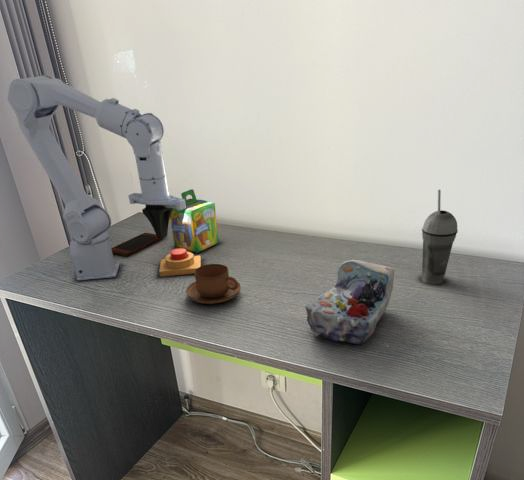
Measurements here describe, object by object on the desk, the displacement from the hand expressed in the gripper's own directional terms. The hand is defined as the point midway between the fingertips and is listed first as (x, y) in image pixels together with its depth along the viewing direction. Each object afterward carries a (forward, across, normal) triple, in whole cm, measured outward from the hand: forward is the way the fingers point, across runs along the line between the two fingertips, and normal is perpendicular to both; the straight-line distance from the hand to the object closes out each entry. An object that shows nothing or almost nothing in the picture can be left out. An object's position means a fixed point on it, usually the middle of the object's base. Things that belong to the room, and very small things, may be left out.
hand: (162, 237), depth 114 cm
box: (+10, +1, -6) cm, 12 cm away
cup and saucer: (+10, -16, +4) cm, 19 cm away
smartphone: (+10, +22, -14) cm, 28 cm away
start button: (+7, +1, -6) cm, 10 cm away
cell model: (+10, -48, +3) cm, 49 cm away
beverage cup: (+10, -57, -23) cm, 62 cm away
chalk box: (+10, +6, -20) cm, 24 cm away
